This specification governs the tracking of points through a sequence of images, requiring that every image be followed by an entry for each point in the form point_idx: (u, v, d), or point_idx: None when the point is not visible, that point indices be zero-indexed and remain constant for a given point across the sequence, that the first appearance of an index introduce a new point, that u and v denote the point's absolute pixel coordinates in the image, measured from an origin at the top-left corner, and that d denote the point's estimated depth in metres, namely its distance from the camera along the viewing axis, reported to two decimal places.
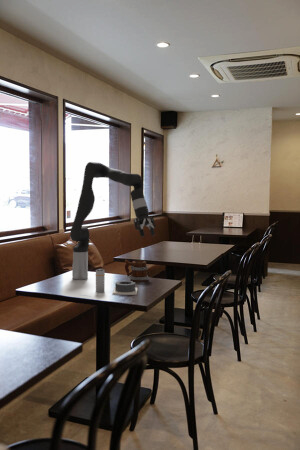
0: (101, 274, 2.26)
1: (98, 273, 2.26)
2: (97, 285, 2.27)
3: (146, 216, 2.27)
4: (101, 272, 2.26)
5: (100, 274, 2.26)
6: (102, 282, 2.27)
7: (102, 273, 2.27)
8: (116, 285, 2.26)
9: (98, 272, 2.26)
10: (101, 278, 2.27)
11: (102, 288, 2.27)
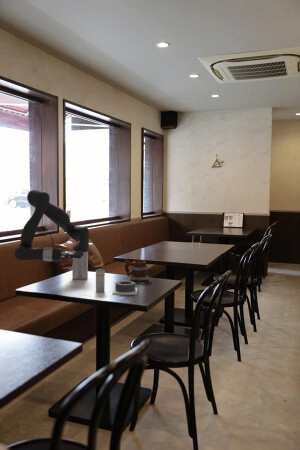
0: (101, 274, 2.26)
1: (98, 273, 2.26)
2: (97, 285, 2.27)
3: None
4: (101, 272, 2.26)
5: (100, 274, 2.26)
6: (102, 282, 2.27)
7: (102, 273, 2.27)
8: (116, 285, 2.26)
9: (98, 272, 2.26)
10: (101, 278, 2.27)
11: (102, 288, 2.27)
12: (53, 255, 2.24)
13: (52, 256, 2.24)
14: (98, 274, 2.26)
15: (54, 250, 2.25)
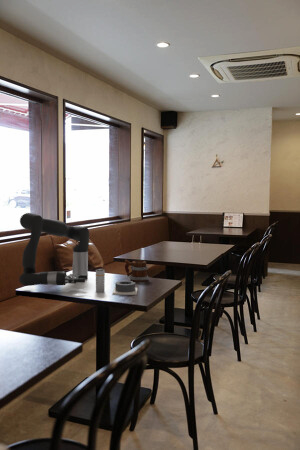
0: (101, 274, 2.26)
1: (98, 273, 2.26)
2: (97, 285, 2.27)
3: None
4: (101, 272, 2.26)
5: (100, 274, 2.26)
6: (102, 282, 2.27)
7: (102, 273, 2.27)
8: (116, 285, 2.26)
9: (98, 272, 2.26)
10: (101, 278, 2.26)
11: (102, 288, 2.27)
12: (57, 279, 2.25)
13: (56, 280, 2.25)
14: (98, 274, 2.26)
15: (58, 274, 2.26)
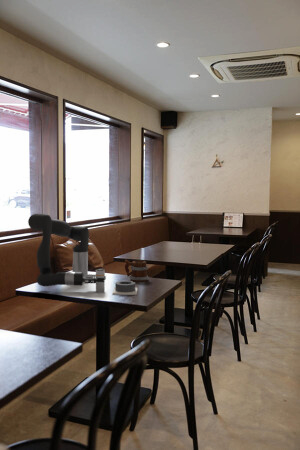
0: (101, 274, 2.26)
1: (98, 273, 2.26)
2: (97, 285, 2.27)
3: None
4: (101, 272, 2.26)
5: (100, 274, 2.26)
6: (102, 282, 2.27)
7: (102, 273, 2.27)
8: (116, 285, 2.26)
9: (98, 272, 2.26)
10: None
11: (102, 288, 2.27)
12: (75, 280, 2.25)
13: (74, 281, 2.25)
14: (98, 274, 2.26)
15: (76, 275, 2.26)
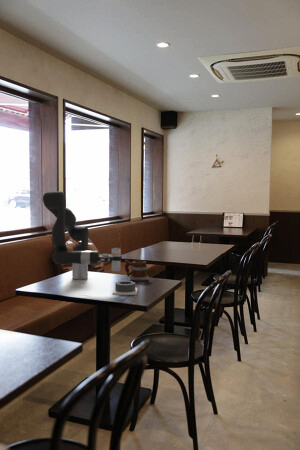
0: (117, 253, 2.25)
1: (114, 252, 2.25)
2: (113, 264, 2.25)
3: None
4: (117, 251, 2.25)
5: (116, 253, 2.25)
6: None
7: (118, 252, 2.25)
8: (116, 285, 2.26)
9: (114, 251, 2.25)
10: None
11: (118, 267, 2.26)
12: (91, 258, 2.24)
13: (90, 259, 2.24)
14: (114, 253, 2.25)
15: (92, 253, 2.25)
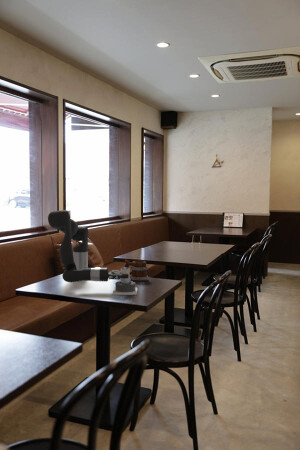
0: (126, 272, 2.26)
1: (123, 272, 2.26)
2: (122, 283, 2.27)
3: None
4: (126, 270, 2.26)
5: (125, 273, 2.26)
6: (127, 280, 2.27)
7: (127, 271, 2.26)
8: (116, 285, 2.26)
9: (123, 271, 2.26)
10: None
11: None
12: (101, 275, 2.25)
13: (100, 276, 2.25)
14: (123, 273, 2.26)
15: (101, 270, 2.26)
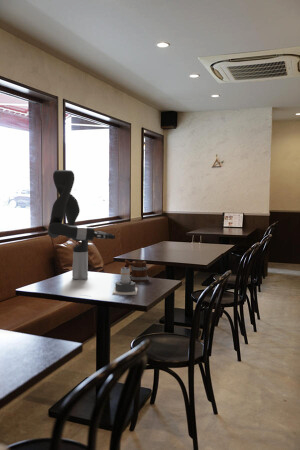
0: (126, 272, 2.26)
1: (123, 271, 2.26)
2: (122, 283, 2.27)
3: None
4: (126, 270, 2.26)
5: (125, 272, 2.26)
6: (127, 280, 2.27)
7: (127, 271, 2.27)
8: (116, 285, 2.26)
9: (123, 270, 2.26)
10: (126, 276, 2.26)
11: None
12: (87, 234, 2.26)
13: (86, 235, 2.26)
14: (123, 272, 2.26)
15: (88, 229, 2.27)
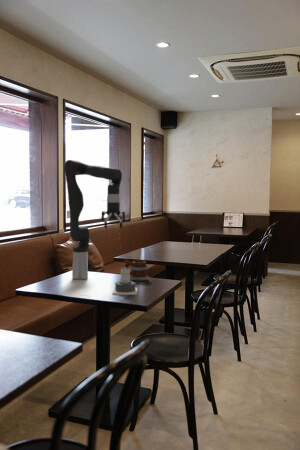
0: (126, 272, 2.26)
1: (123, 271, 2.26)
2: (122, 283, 2.27)
3: (115, 210, 2.48)
4: (126, 270, 2.26)
5: (125, 272, 2.26)
6: (127, 280, 2.27)
7: (127, 271, 2.27)
8: (116, 285, 2.26)
9: (123, 270, 2.26)
10: (126, 276, 2.26)
11: None
12: (119, 203, 2.48)
13: (119, 203, 2.48)
14: (123, 272, 2.26)
15: None
